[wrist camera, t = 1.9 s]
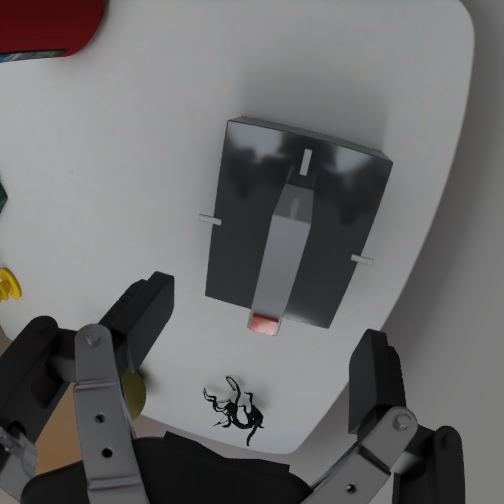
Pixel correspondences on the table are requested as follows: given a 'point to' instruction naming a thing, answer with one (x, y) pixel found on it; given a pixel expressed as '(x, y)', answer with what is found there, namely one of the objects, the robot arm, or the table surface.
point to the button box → (2, 198)
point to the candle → (8, 285)
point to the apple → (134, 393)
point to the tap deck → (264, 203)
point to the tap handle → (281, 258)
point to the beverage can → (46, 27)
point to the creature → (233, 410)
